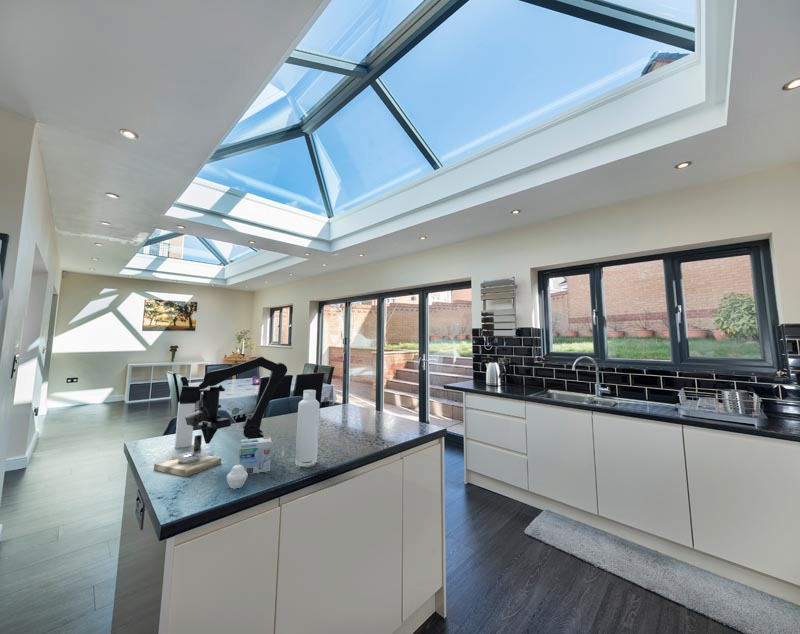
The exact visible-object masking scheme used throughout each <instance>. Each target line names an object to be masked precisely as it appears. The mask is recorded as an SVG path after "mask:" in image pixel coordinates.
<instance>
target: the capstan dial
mask: <svg viewBox="0 0 800 634" xmlns="http://www.w3.org/2000/svg"><path fill="white" fill-rule="evenodd" d="M202 436H203V434H197V435H194V443H193V450H192V451H189V452H188V451H187V452H183V453H181V454H179V455H178V456H177V457H178V463H180V464H187V463H193V462H196V461H198V460H200V454H202V440H203V439H202V438H203V437H202Z"/></svg>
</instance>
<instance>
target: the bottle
mask: <svg viewBox="0 0 800 634" xmlns="http://www.w3.org/2000/svg"><path fill="white" fill-rule="evenodd" d="M316 394H317V390H315V389H304V390H303V394H302V396H303V397H302V400H300V401H299V402H298V404H297V405H298V407H297V424H296V425H297V426H296V442H295V443H296V444H295V445H296V446H295V460H294V461H295V464H296V465H299V466H306V465H311V464H314V463H315V462H317V463H318V459H317V458H318V450H319V448H318V444H319V427H320V425H319V423H320V406H321V405H320V402H319V401H318V400H317V399H316ZM295 464H294V465H295Z"/></svg>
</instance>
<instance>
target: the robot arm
mask: <svg viewBox="0 0 800 634" xmlns="http://www.w3.org/2000/svg"><path fill="white" fill-rule="evenodd" d="M259 367H261V368H264V369H265V370H267V371H270V373H269V379H268V382H267V384H266V386H265V388H264V390H263V393H262V395H261V396H260V398H259V401H258V403H257V405H256V408H254V411H253V413H252V414H251V416H250V415H247V416H246V418H245V421H244V423H243V424H242V430H243V431H242V432H243V436H244V437H245V438H246V439H255V438H265V436H264V431H262V430H261V426H262V425H261V424H262V420H263V417H264V415H265V412H266V410H267V408H268V406H269V404H270V402H271V399H272V397H273V396H274V393H275V391H276V389H277V386H278V385H279V384H280V383H281V381H282V380H283V378H285V376H286V374H287V372H288V366H286V364H285V363H282V362H275V361H272V360H269V359H267V358H265V357H263V356H258V357H256V358H254V359H251V360H247V361H244V362H241V363H239V364H236V365H232V366H230V367H227V368H220V369H214V370H210V371H208V372H207V373H205V374H204V377H203V381H202V382H201V383H199V385H193V386H192V385H191V386H190V385H189V386H188V385H182V387H181V391H180V395H179V401H178V402H179V403H180V404H195V405H196V404H198V402H200V401H201V400H202V403H201V405H199V406H198V410H196V411H194V413H192V414H190V415H188V416H186V417H185V419H186V423H187V425H191V426H193V427H196V428H199V429H200V430H201V432H202V436H203V439H204V443H205V444H206V445H209V444H210V443H211V441H212V439H213V438H214V436H215V434H216V432H217V431H218V430H220V429H224V428H228V427H231V426H232V420H231V419H230V418H227V417H221V415H219V409H221V408H222V405H221V404H219V403H220V395H221V394H220V393H221V392H225V390H226V388H225V387H223V385H222V384H220V383H222V382H224V381H226V380H228V379H229V378H231V377H234V376H237V375H240V374H242V373H246V372H248V371H251V370H254V369H257V368H259ZM219 384H220V385H219ZM218 385H219V386H218ZM206 388H207V389H206ZM208 388H209V389H208Z"/></svg>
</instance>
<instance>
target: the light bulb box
mask: <svg viewBox="0 0 800 634" xmlns="http://www.w3.org/2000/svg"><path fill="white" fill-rule="evenodd" d="M272 449H273V440H272V438H271V436H267V437H264V438H255V439H248V438H246V439H240V444H239V454H238V455H239V456H238V465H242V466H243V467H244V469H245V471H246V472H247V473H248V474H249V475H254V474H253V473H257V474H260V473H259V472H265V473H267V472H266V471H270V472H271V463H272V462H271V461H272Z"/></svg>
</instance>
